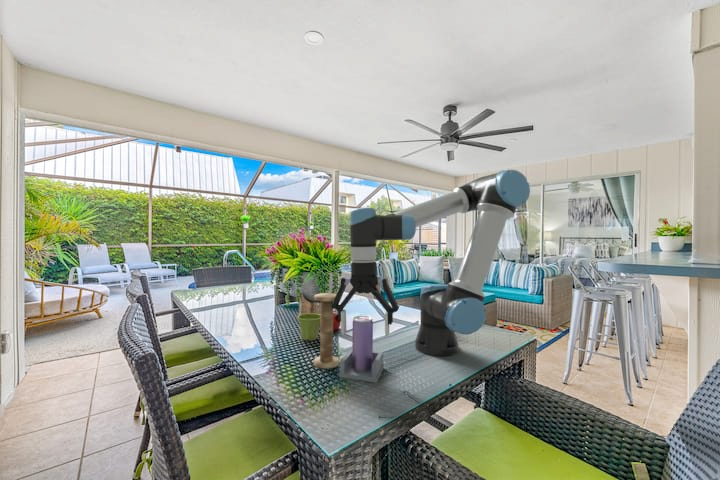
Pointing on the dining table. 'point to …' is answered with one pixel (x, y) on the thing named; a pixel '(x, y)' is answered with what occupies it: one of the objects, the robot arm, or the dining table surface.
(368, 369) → the beverage can
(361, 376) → the gray open box
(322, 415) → the dining table surface
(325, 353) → the spool
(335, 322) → the pomegranate
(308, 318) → the plant pot
